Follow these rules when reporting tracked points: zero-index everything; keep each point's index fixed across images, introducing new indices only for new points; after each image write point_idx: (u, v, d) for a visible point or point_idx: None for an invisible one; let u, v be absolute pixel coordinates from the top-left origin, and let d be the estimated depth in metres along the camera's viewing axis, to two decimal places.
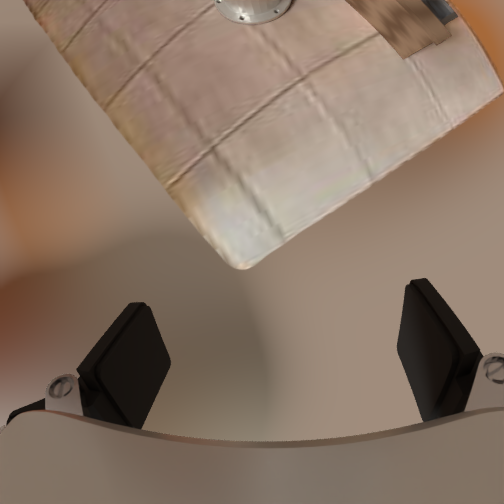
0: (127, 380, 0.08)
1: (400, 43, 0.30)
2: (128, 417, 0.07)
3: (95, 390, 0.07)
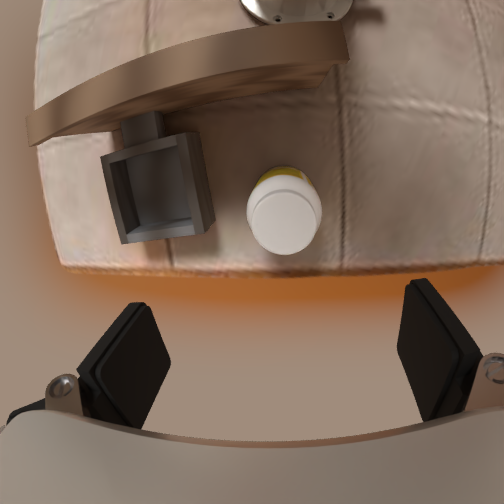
0: (127, 380, 0.08)
1: None
2: (128, 417, 0.07)
3: (95, 390, 0.07)
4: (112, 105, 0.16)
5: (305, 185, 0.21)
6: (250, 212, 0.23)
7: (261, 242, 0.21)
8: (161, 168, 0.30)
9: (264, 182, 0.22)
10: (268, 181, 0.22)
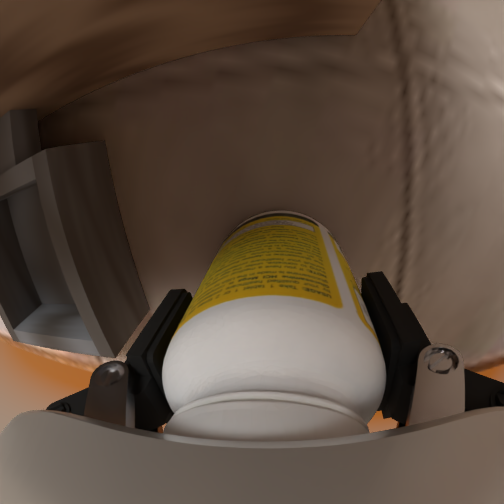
0: None
1: None
2: None
3: (144, 376, 0.07)
4: None
5: (353, 345, 0.05)
6: (169, 401, 0.07)
7: None
8: None
9: (202, 325, 0.06)
10: (214, 328, 0.06)
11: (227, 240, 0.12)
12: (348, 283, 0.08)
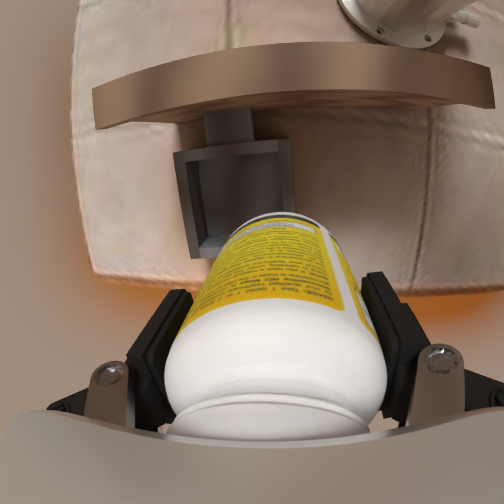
0: None
1: None
2: None
3: (144, 376, 0.07)
4: (250, 93, 0.13)
5: (354, 347, 0.06)
6: (171, 402, 0.07)
7: None
8: (243, 174, 0.27)
9: (205, 328, 0.06)
10: (217, 330, 0.06)
11: (228, 242, 0.12)
12: (349, 285, 0.08)
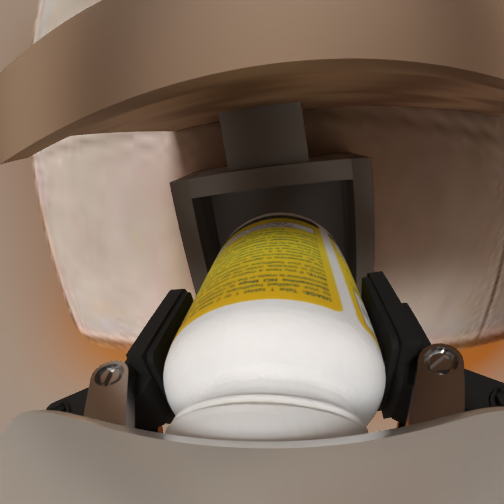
0: None
1: None
2: None
3: (144, 376, 0.07)
4: (390, 57, 0.04)
5: (352, 348, 0.06)
6: (170, 403, 0.07)
7: None
8: (283, 209, 0.17)
9: (203, 329, 0.06)
10: (215, 331, 0.06)
11: (227, 242, 0.12)
12: (348, 286, 0.08)
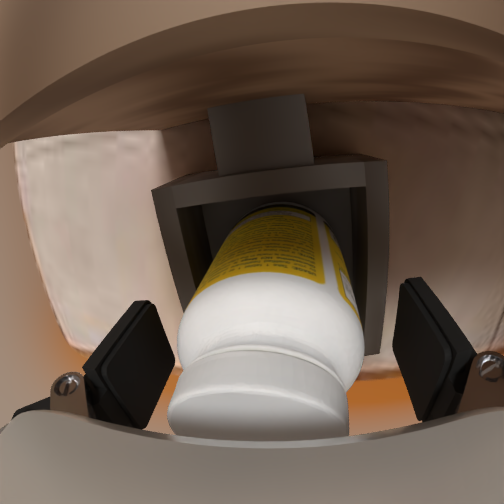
0: (133, 378, 0.08)
1: None
2: (134, 415, 0.07)
3: (101, 388, 0.07)
4: (452, 14, 0.02)
5: (330, 313, 0.07)
6: (182, 361, 0.08)
7: None
8: None
9: (211, 295, 0.08)
10: (221, 297, 0.08)
11: (234, 228, 0.13)
12: (334, 265, 0.10)
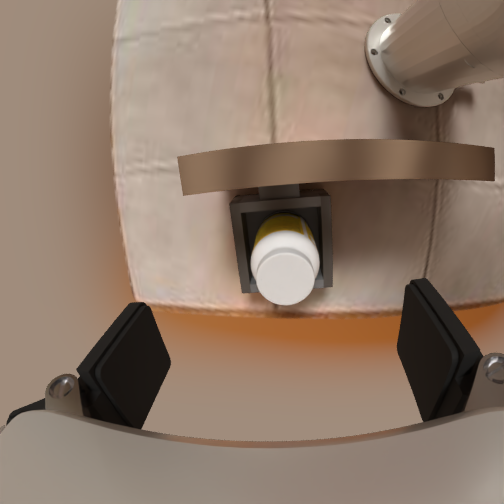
0: (127, 380, 0.08)
1: None
2: (128, 417, 0.07)
3: (95, 390, 0.07)
4: (322, 181, 0.18)
5: (306, 242, 0.24)
6: (254, 264, 0.25)
7: (264, 294, 0.23)
8: None
9: (268, 237, 0.24)
10: (271, 237, 0.24)
11: (264, 221, 0.30)
12: (307, 232, 0.26)
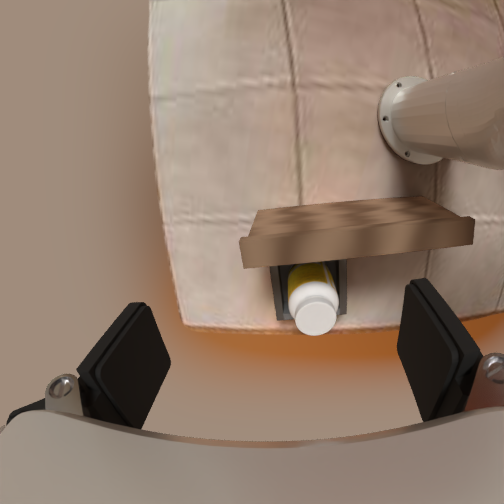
0: (127, 380, 0.08)
1: (274, 214, 0.36)
2: (128, 417, 0.07)
3: (95, 390, 0.07)
4: (343, 258, 0.27)
5: (329, 290, 0.32)
6: (292, 306, 0.33)
7: (301, 329, 0.32)
8: None
9: (302, 287, 0.33)
10: (304, 287, 0.32)
11: (294, 267, 0.38)
12: (329, 279, 0.35)
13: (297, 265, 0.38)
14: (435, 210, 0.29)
